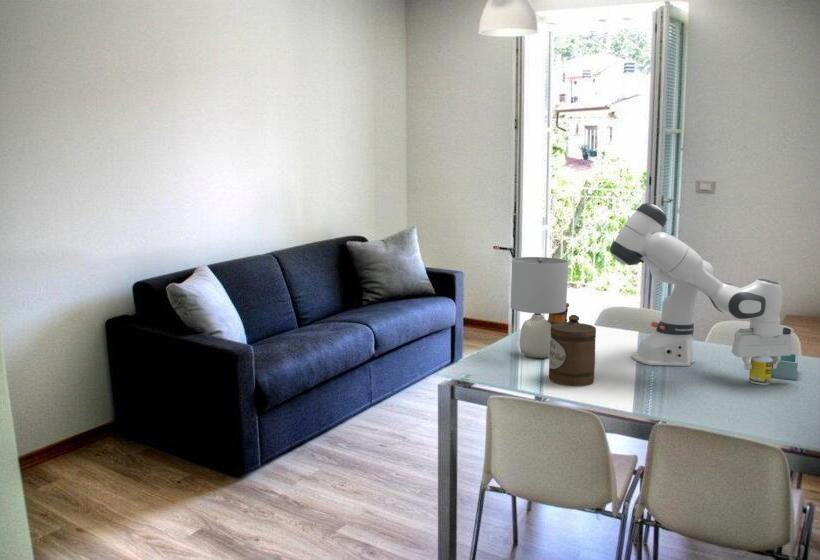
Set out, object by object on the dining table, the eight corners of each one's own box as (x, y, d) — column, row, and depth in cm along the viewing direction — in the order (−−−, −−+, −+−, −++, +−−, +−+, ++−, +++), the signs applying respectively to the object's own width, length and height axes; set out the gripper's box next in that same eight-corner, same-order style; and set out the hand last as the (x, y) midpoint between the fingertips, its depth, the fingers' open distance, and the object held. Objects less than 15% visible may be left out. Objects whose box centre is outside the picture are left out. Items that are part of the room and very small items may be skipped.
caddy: (795, 380, 241) (797, 363, 241) (751, 374, 248) (753, 357, 247) (796, 371, 253) (798, 354, 252) (754, 365, 260) (755, 349, 259)
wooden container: (545, 373, 246) (548, 310, 243) (588, 374, 246) (592, 311, 242) (552, 386, 231) (555, 319, 228) (598, 387, 231) (602, 320, 228)
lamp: (537, 346, 282) (541, 254, 277) (575, 358, 266) (580, 260, 260) (497, 353, 271) (500, 257, 266) (534, 366, 255) (539, 263, 249)
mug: (558, 334, 305) (559, 307, 303) (539, 330, 312) (540, 304, 311) (576, 330, 313) (578, 304, 311) (557, 326, 321) (559, 300, 319)
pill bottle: (761, 386, 234) (764, 352, 233) (744, 381, 240) (747, 347, 238) (774, 384, 237) (778, 349, 235) (757, 378, 243) (760, 345, 241)
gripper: (741, 331, 231) (737, 372, 233) (798, 329, 234) (794, 370, 236) (729, 326, 237) (726, 367, 239) (785, 325, 240) (781, 365, 243)
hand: (760, 368), depth 238 cm, fingers open, 8 cm apart
